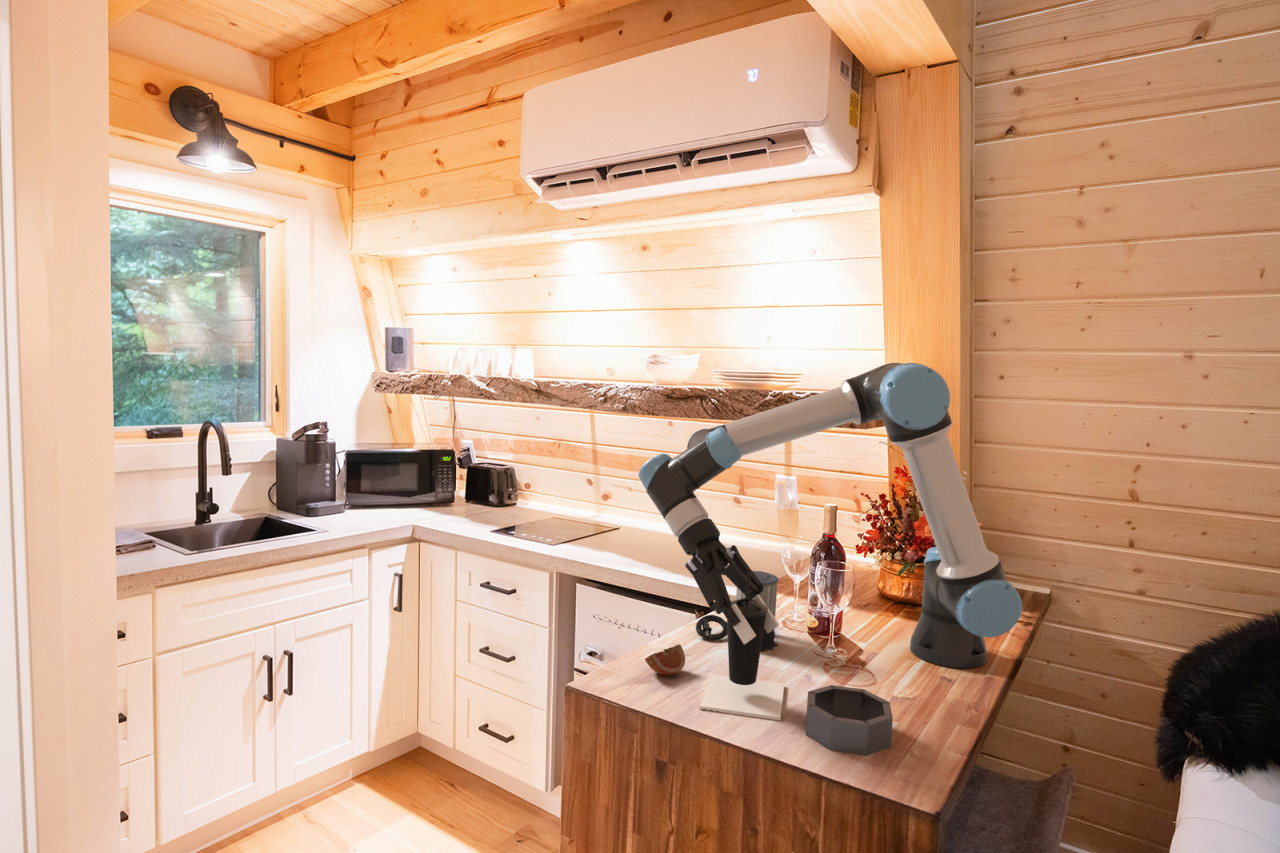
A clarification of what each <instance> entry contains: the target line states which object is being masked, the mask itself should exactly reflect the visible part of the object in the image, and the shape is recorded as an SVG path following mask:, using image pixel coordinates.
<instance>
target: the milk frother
mask: <svg viewBox="0 0 1280 853" xmlns="http://www.w3.org/2000/svg"><path fill="white" fill-rule="evenodd" d="M752 571H753V573H754V574H755V575H756V576H757V578H758V579H759V580H760V582H761V583H762V584H763V586H764V588H763V592H761V593H760V595H761V597H762V598H763V600H764V601H765V603H766V604H767V606H768V607H769V610H770V611H771V613H772V614H773V616H774V617H775V618H776V611H777V594H778V582H779V581H780V579H779V577H778V576H777V575H775V574H773V573H770V572H767V571H761V570H760V571H759V570H752ZM735 594H736V596H735V600H736V599H742V598H745V595H744V594H743V593H742V592H741V591H740V590H739V589H738V588H737V587H736V593H735ZM710 622H711V623H713V622H714V623H716V624H718V625H720V626H721V628H722V630H721V631H720V632H719V633H718V632H717V633H715V634H712V630H713V629H712V627H711V626H710ZM695 632H696V634H698V636H700V637H702V638H704V639H706V640H710V641H711V640H713V641H714V640H715V641H718V640H721V639H723V638H725V637H726V636H728V631H727V620H725V619H723V617H721V616H718V615H714V614H708V615H707V614H706V615H705V616H702V617H701V618H700V619H699V620H698V621H697V622H696V624H695ZM775 632H776V631H775V629H773V630H772V631H771V632H769V633H767V632H766V630H765V629H764V631H763V638H762V645H761V651H760V652H762V651H767V650H771V649H773V648H774V647H775V646H776V642H774V641H775V635H776V633H775Z"/></svg>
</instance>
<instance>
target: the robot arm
mask: <svg viewBox="0 0 1280 853" xmlns="http://www.w3.org/2000/svg"><path fill="white" fill-rule="evenodd" d="M950 403H951V394H950V389H949V386H948V383H947V382H946V380H945V379H944V378H943V376H941V374H940V373H939V372H937V371H936V370H934V369H933V368H931V367H929V366H927V365H925V364H921V363H916V362H906V363H901V362H890V363H885V364H882V365H880V366H878V367H875V368H873V369H871V370H869V371H866V372H864V373H861V374H857V375H856V376H852V377H851V378H847V379H845V380H842V381H841V383H840V386H838V387H836V388H833V389H829V390H827V391H823V392H819V393H817V394H814V395H811V396H808V397H805V398H801V399H799V400H796V401H795V400H794V401H792V402H789V403H786V404H783V405H780V406H776V407H773V408H770V409H767V410H764V411H761V412H758V413H754V414H751V415H748V416H746V417H742V418H739V419H735V420H733V421H731V422H727V423H724V424H721V425H717V426H714V427H712V428H702V429H699V430H696V431H694V433H693V434H692V435H691V436H690V437H689V439H688V442H687V446H686V448H687V449H685V450H684V451H683V452H682V451H681V453H680V454H678V455H676V456H675V457H671V456H670V455H669V453H660V454H657V455H656V456H654V457H651V458H649V459H648V460H646V461H645V462H644V463H643V465H642V466H640V468H639V469H638V470H639V471H638V478H639V480H640V482H641V483H642V486H643V487H644V488H645V492H646V494H647V495H648V496H649V498H650V499H651V501H652V502H653V504H654V505H655V507H656V509H657V510H658V511H659V513H660V514H661V516H662V518H663V520H665V522H666V523H667V525H668V527H669V528H670V530H671V532H672V533H673V535H674V536H675V538H677V542H678V543H679V545H680V546H681V547H682V550H683V551H684V553H685V554H686V555H687V556H691V557H692V558H690V559H689V560H688V561H686V563H684V566H685V568H686V569H687V570H688V571H689V573H690V574H691V575H692V577H693V579H694V580H695V582H696V584H697V586H698V589H699V590H700V592H701V594H702V595H703V598H704V599H705V602H706V603H707V605H708V607H709V609H710V610H711V611H712V612H715V613H716V615H721V613H723V616H725V618H726V621H727V620H728V622H729V623H730V625H731V626H732V627H733V628H734V629H735V631H736V632H737V634H738V636H739V637H740V639H741V640H742V642H743V643H744V644H746V643H748V642H749V641H750V640H751V639H753V638H754V637H755V636H756V634H755V633H754V631H753V630H752V628H751V627H750V625H749V623H748V622H747V620H746V619H745V617H744V616H743V615H742V613H741V611H740V609H739V608H738V606H737V605H736V603H735V604H733V605H732V606H731V601H732V600H731V598H730V596H729V592H728V590H727V587H726V584H725V582H724V579H723V576H725V577H726V578H728V580H730V581H731V583H733V585H734V586H735V587H736V589H737V588H738V589H739V590H740V591H741V592H742V593H743V594H744V595H745V592H746V574H747V572H750V589H749V599H752V600H756V601H758V602H760V603H762V604H764V605H766V606H767V604H766V603H765V601H764V600H763V598H762V597H761V595H760V593H761V592H763V588H764V586H763V584H762V583H761V582H760V580H759V579H758V578H757V576H756V575H755V574H754V573H753V571H754V570H753V569H751V568H750V566H749V565H748V563H747V562H746V561H745V559H744V558H743V556H742V555H741V554H740V552H739V550H738V548H737V546H736V545H735V544H732V545H731V546H730V547H726V546H725V545H724V543H722V542H721V541H720V536H721V532H720V530H719V529H718V527H717V525H716V524H715V522H714V521H713V519H711V518H709V513H708V512H707V510H706V509H705V506H703V505H702V502H701V501H700V499H699V498H698V496H697V495H695V492H696V490H699V489H700V488H701V487H703V486H704V485H705V484H707V483H708V482H709V481H711V480H713V479H714V478H716V477H717V476H718V475H720V474H722V473H723V472H724V471H726V470H728V469H730V468H732V467H733V465H734V464H735V463H737V462H738V461H740V459H742V457H743V456H746V455H750V454H753V453H755V452H759V451H763V450H765V449H769V448H773V447H775V446H778V445H781V444H786V443H788V442H791V441H794V440H798V439H801V438H804V437H807V436H810V435H814V434H817V433H820V432H823V431H826V430H828V429H832V428H836V427H839V426H842V425H846V424H848V423H853V424H855V425H857V426H859V425H861V424H865V423H869V422H873V421H883V426H884V427H885V431H886V432H887V436H888V439H889V442H890V443H891V444H892V445H895V446H897V447H899V448H901V450H902V454H903V456H904V459H905V462H906V465H907V468H908V470H909V473H910V477H911V479H912V482H913V485H914V487H915V490H916V494H917V496H918V499H919V501H920V505H921V508H922V510H923V513H924V516H925V519H926V522H927V524H928V528H929V530H930V533H931V536H932V539H933V541H934V545H935V546H933V547H930V548H928V549H927V551H926V553H925V559H924V561H923V565H924V571H923V582H922V583H923V587H922V599H921V600H922V602H921V613H920V617H919V619H918V621H917V623H916V626H915V627H914V630H913V633H912V634H911V636H910V637H911V638H910V641H909V642H910V643H909V644H910V646H909V650H910V651H911V653H912V654H913V655H914V656H915V657H917V658H919V659H921V660H923V661H926V662H929V663H930V664H934V665H939V666H941V667H947V668H952V669H953V668H954V669H955V668H956V669H973V668H980V667H982V666H984V665H985V664H986V663H987V655H988V650H987V646H986V642H985V641H986V640H985V638H986V639H987V638H989V639H990V638H996V637H999V636H1002V635H1005V634H1007V633H1008V632H1009V631H1010V630H1012V629H1013V628H1014V627H1015V626H1016V624H1017V622H1018V621H1019V620H1020V618H1021V615H1022V612H1023V602H1022V598H1021V597H1022V596H1021V595H1020V593H1019V591H1018V590H1016V587H1014V585H1013V584H1011V583H1010V582H1009V581H1008V580H1007V578H1006V574H1005V570H1004V568H1003V566H1002V564H1001V560H1000V558H999V555H998V554H996V553H995V552H993V551H991V550H989V549H987V545H986V543H985V540H984V537H983V534H982V531H981V528H980V525H979V522H978V520H977V516H976V514H975V511H974V509H973V508H974V507H973V505H972V502H971V500H970V496H969V494H968V491H967V488H966V484H965V482H964V479H963V476H962V473H961V469H960V467H959V465H958V462H957V459H956V456H955V453H954V451H953V447H952V445H951V441H950V439H949V436H948V433H949V431H950V429H951V427H952V426H953V421H952V419H951V416H950V412H949V410H948V409H949V408H950ZM767 607H768V606H767ZM779 626H780V623H779V622H778V621H777V619H776V616H775V617H774V616H773V614H772V613H771V611H770V610H769V607H768V612H767V614H766V618H765V625H764V629H765V630H766V632H767V633H769V632H771V631H772V630H773V629H774V630H775V629H776V628H777V627H779Z"/></svg>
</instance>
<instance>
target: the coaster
mask: <svg viewBox="0 0 1280 853" xmlns="http://www.w3.org/2000/svg"><path fill="white" fill-rule="evenodd" d="M784 692H785V683H783V682H776V681H770V680H769V681H767V680H760V679H756V682H755V683H754V684H751V685H739V684H735V683H733V682H732V681H730V679H729V675H721V674H715V673H714V674H713V673H710V674H709V678H708V681H707V684H706V687H705V689H704V691H703V694H702V698H701V700H700V704H699V710H702V709H706V710H705V711H709V710H713V711H712V712H716V711H719V712H718V713H725V714H733V715H736V716H737V715H738V716H746V717H752V718H761V719H766V720H774V721H781V719H782V710H783V701H784Z"/></svg>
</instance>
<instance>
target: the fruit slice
mask: <svg viewBox="0 0 1280 853" xmlns="http://www.w3.org/2000/svg"><path fill="white" fill-rule="evenodd" d="M644 661H645V663H646V664H647V665H648V666H649V667H650V669H651V670H652V671H653V672H655V673H656V674H659V675H662V676H674V675H676V674H678V673H679V672H681V671H682V669H684V666H685V663H686V656H685V652H684V649H683V647H682V645H681V644H676V645H673V646H670V647H668V648H663V650H662V651H659V652H654V653H652V654H649V656H646V657H645V659H644Z"/></svg>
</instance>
